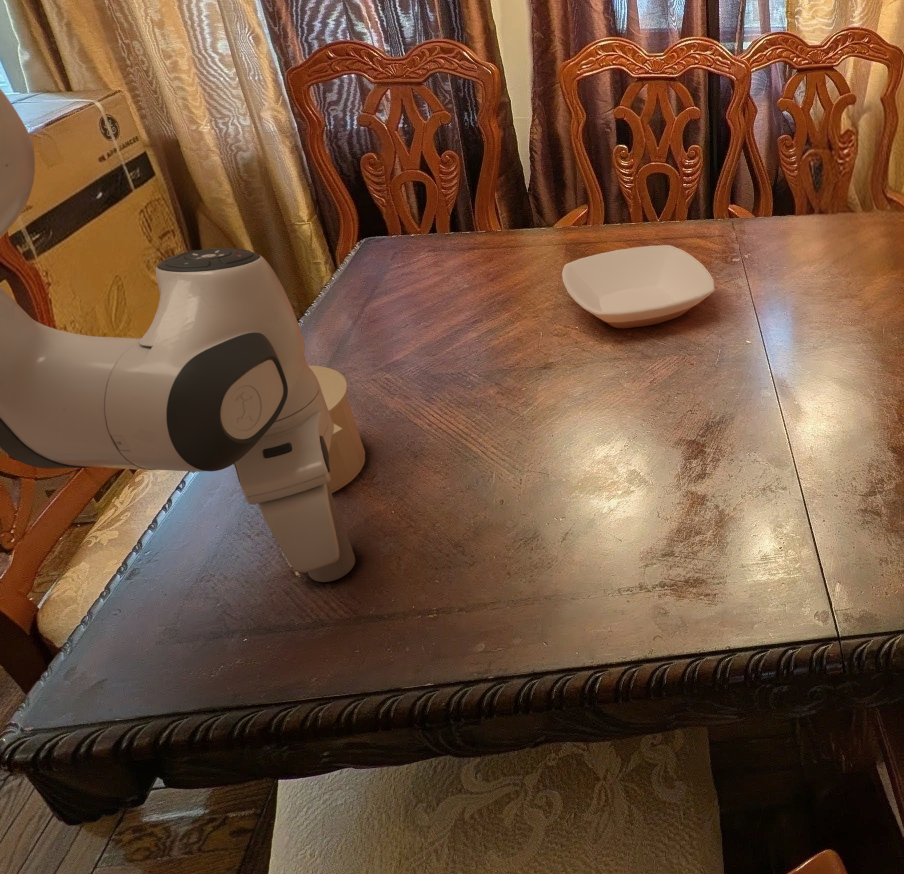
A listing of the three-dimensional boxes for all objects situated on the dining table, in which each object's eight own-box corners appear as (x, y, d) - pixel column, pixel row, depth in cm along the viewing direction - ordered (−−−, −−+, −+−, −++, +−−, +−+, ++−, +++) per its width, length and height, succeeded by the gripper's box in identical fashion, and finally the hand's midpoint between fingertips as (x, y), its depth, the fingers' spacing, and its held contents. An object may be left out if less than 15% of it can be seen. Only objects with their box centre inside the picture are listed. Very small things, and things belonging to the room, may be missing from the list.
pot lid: (261, 457, 81) (247, 424, 78) (196, 413, 87) (181, 382, 85) (374, 397, 89) (364, 365, 87) (306, 361, 96) (295, 331, 93)
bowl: (731, 324, 119) (731, 292, 116) (591, 354, 113) (587, 321, 110) (678, 268, 135) (677, 238, 132) (553, 292, 129) (549, 261, 126)
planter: (365, 557, 81) (337, 478, 75) (334, 587, 78) (301, 508, 72) (330, 545, 83) (299, 467, 77) (298, 575, 80) (263, 496, 73)
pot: (305, 528, 85) (276, 458, 80) (220, 467, 94) (188, 400, 88) (401, 469, 93) (381, 401, 87) (314, 418, 102) (290, 353, 96)
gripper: (232, 378, 77) (279, 489, 85) (242, 503, 62) (298, 622, 70) (302, 362, 79) (341, 471, 87) (328, 478, 64) (372, 597, 72)
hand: (322, 540), depth 78 cm, fingers closed on planter, 4 cm apart
